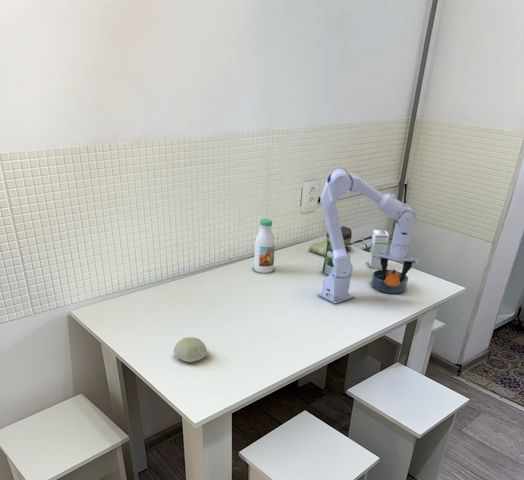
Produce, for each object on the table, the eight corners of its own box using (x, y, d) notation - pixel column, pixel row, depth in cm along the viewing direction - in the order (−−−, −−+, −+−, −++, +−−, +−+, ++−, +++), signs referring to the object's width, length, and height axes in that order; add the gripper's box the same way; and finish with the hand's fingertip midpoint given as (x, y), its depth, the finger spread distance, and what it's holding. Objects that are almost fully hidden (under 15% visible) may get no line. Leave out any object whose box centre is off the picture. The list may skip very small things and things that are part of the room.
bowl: (391, 297, 180) (393, 286, 177) (363, 284, 188) (365, 273, 186) (412, 289, 187) (415, 278, 185) (385, 277, 195) (387, 266, 193)
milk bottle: (251, 271, 193) (253, 221, 183) (257, 264, 200) (259, 216, 189) (270, 274, 192) (273, 224, 181) (275, 267, 198) (278, 218, 188)
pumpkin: (392, 288, 171) (395, 274, 168) (380, 282, 174) (383, 268, 172) (402, 284, 174) (405, 270, 171) (390, 279, 178) (393, 265, 175)
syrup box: (383, 268, 203) (390, 234, 196) (369, 267, 203) (375, 234, 196) (381, 263, 208) (387, 230, 200) (367, 262, 208) (373, 229, 200)
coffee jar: (335, 267, 202) (341, 223, 192) (349, 274, 196) (356, 228, 187) (318, 272, 197) (323, 226, 187) (332, 278, 191) (338, 232, 182)
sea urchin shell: (207, 340, 143) (206, 333, 135) (206, 366, 141) (205, 360, 133) (176, 339, 142) (173, 332, 135) (174, 365, 141) (171, 360, 133)
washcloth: (352, 250, 220) (354, 243, 219) (329, 259, 209) (330, 252, 207) (329, 242, 228) (330, 235, 226) (305, 251, 216) (306, 244, 214)
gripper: (421, 242, 169) (412, 278, 176) (378, 237, 171) (372, 273, 178) (422, 248, 163) (413, 286, 170) (378, 243, 165) (371, 280, 172)
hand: (392, 280), depth 173 cm, fingers closed on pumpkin, 5 cm apart
